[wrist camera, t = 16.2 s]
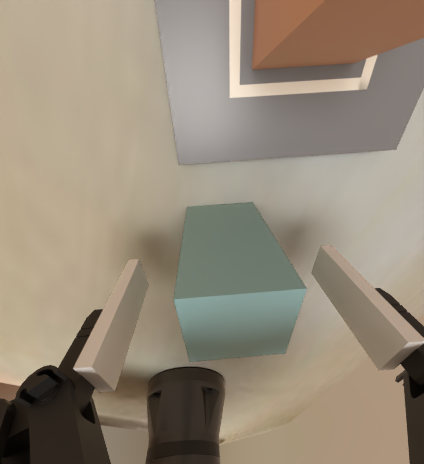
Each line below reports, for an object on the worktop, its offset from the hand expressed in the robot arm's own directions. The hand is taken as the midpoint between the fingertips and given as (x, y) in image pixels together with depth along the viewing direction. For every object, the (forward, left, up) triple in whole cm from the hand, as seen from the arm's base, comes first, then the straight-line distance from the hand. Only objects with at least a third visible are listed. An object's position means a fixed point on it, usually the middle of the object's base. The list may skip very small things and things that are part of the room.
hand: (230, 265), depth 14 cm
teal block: (0, 0, -5) cm, 5 cm away
